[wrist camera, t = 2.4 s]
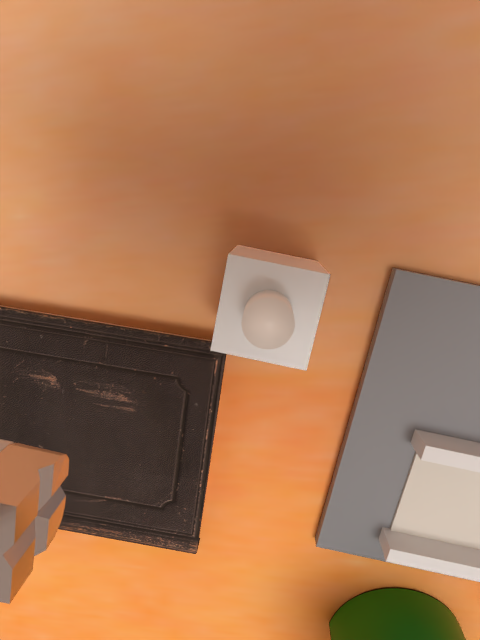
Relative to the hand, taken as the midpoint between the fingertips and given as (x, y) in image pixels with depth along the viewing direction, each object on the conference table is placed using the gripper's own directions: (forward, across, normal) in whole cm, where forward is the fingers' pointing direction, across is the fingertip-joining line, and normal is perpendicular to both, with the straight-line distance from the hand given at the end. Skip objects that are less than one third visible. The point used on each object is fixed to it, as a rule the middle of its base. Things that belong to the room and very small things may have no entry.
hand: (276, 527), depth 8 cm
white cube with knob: (+20, 0, -1) cm, 20 cm away
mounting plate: (+20, -15, +6) cm, 25 cm away
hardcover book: (+21, +13, +11) cm, 27 cm away
